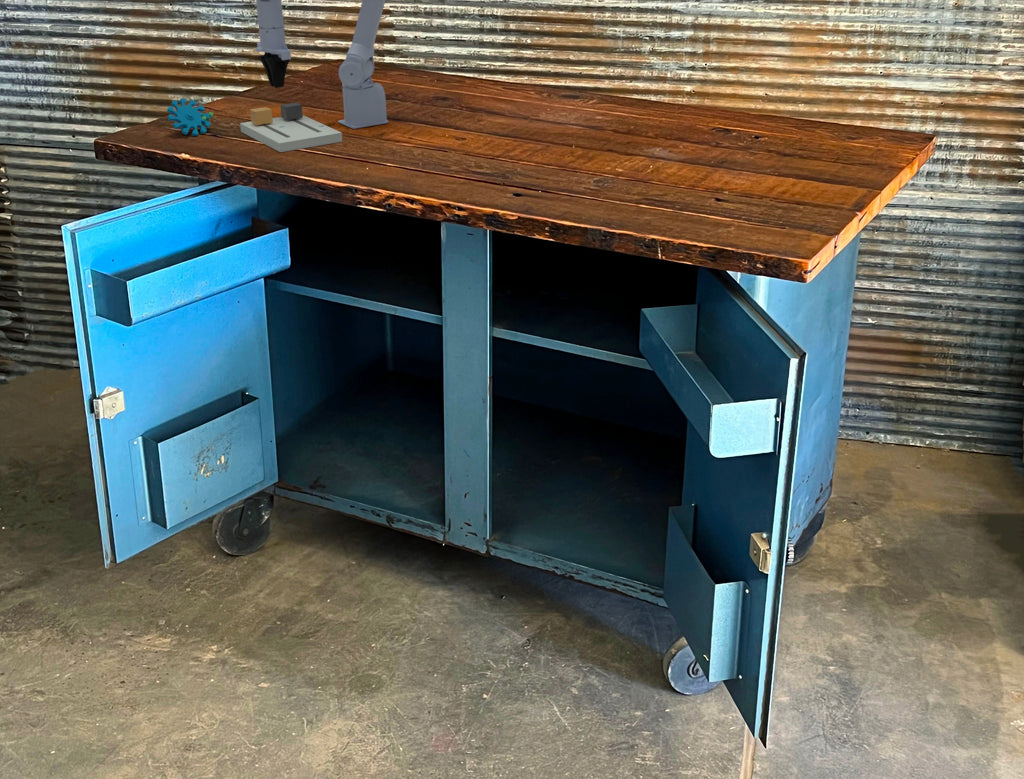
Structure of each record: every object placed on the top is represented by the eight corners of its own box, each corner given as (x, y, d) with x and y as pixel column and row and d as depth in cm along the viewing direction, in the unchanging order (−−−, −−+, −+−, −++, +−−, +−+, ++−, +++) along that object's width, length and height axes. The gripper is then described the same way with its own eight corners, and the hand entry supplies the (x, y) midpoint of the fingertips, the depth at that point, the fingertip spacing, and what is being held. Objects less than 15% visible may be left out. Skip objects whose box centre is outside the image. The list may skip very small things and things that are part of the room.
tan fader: (267, 119, 285) (266, 106, 284) (272, 122, 283) (271, 109, 282) (251, 122, 283) (249, 109, 282) (256, 125, 281) (255, 112, 280)
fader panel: (300, 122, 293) (299, 113, 292) (342, 141, 276) (341, 132, 275) (241, 131, 285) (240, 123, 285) (280, 152, 269) (279, 143, 268)
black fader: (297, 115, 289) (296, 102, 288) (302, 117, 287) (301, 104, 285) (281, 117, 287) (280, 104, 286) (286, 120, 285) (285, 107, 283)
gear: (176, 133, 279) (162, 96, 281) (168, 148, 283) (155, 111, 285) (221, 132, 285) (208, 95, 288) (213, 146, 290) (200, 110, 292)
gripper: (242, 24, 287) (248, 83, 293) (267, 33, 276) (274, 94, 282) (270, 21, 290) (276, 79, 296) (296, 29, 280) (302, 90, 286)
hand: (277, 86), depth 290 cm, fingers closed
